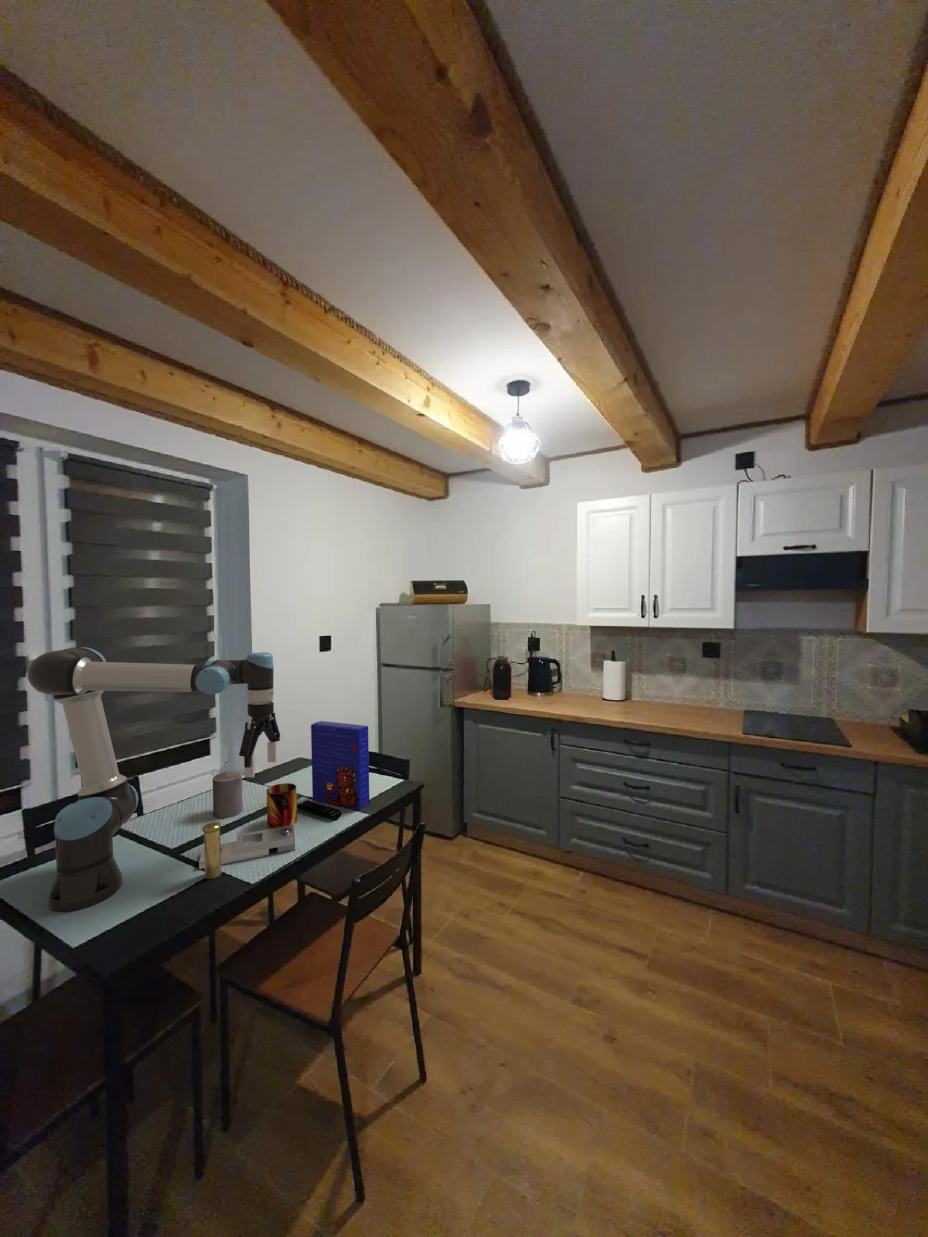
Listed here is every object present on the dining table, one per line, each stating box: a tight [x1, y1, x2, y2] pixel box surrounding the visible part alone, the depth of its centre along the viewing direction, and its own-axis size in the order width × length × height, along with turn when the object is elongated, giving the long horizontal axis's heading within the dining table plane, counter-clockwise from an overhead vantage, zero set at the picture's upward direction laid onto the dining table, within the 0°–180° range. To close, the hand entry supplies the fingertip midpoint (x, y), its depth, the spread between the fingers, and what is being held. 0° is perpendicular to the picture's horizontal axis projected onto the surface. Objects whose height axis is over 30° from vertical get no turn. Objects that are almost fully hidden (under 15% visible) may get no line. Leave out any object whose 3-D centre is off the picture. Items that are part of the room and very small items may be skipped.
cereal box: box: [310, 720, 371, 811], centre depth 178 cm, size 22×6×30 cm, turn 68°
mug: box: [266, 782, 298, 829], centre depth 162 cm, size 10×14×12 cm
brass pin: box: [201, 821, 222, 880], centre depth 132 cm, size 5×5×14 cm
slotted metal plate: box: [198, 825, 296, 870], centre depth 144 cm, size 26×9×5 cm, turn 113°
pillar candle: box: [212, 770, 244, 819], centre depth 171 cm, size 10×10×15 cm
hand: (261, 769), depth 147 cm, fingers open, 13 cm apart
